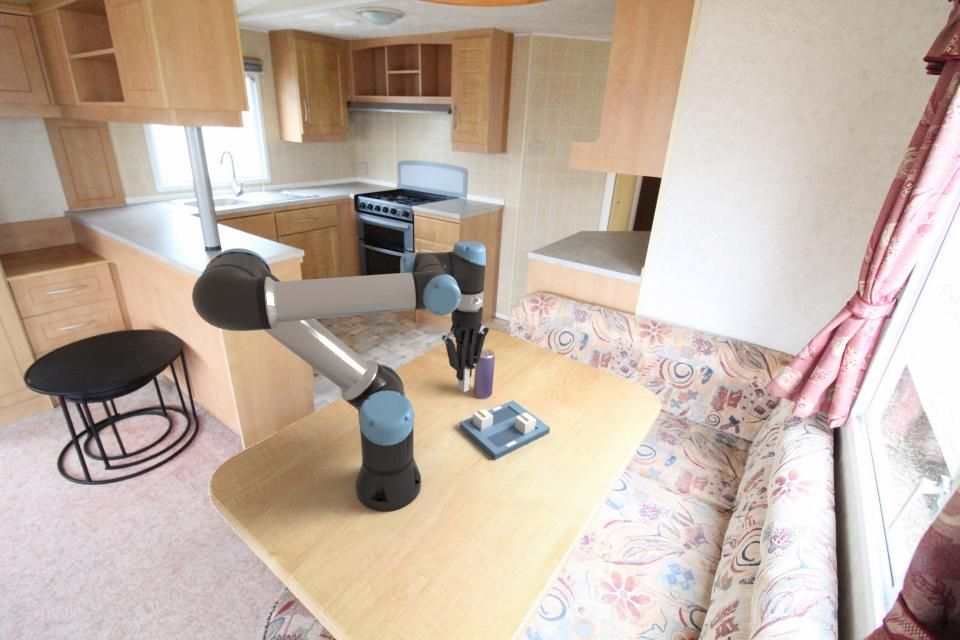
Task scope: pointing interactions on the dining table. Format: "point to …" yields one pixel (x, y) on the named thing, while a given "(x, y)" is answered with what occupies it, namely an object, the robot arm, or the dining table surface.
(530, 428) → the tab near
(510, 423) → the switch bank
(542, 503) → the dining table surface
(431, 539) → the dining table surface
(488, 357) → the beverage can
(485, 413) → the tab far
